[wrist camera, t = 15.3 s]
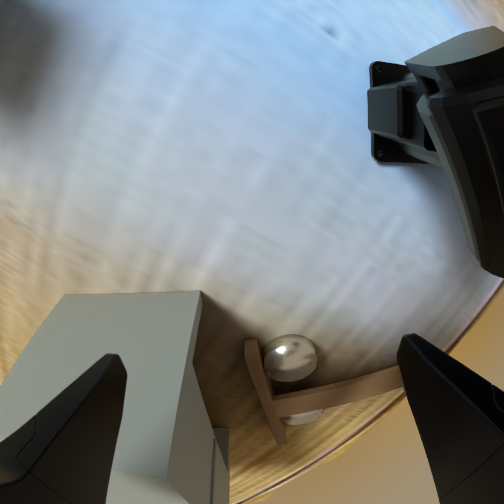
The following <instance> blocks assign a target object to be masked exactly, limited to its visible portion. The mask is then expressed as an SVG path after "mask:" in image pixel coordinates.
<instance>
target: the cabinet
mask: <svg viewBox="0 0 504 504" xmlns="http://www.w3.org/2000/svg"><path fill="white" fill-rule="evenodd" d="M202 306H203V303H202V297H201V291H180V292H155V293H123V294H64V296H63V297H62V298H61V299H60V301H59V302H58V303H57V305H56V306H55V307H54V308H53V310H52V311H51V312H50V314H49V315H48V316H47V318H46V319H45V320H44V322H43V323H42V325H41V326H40V327H39V329H38V330H37V331H36V333H35V334H34V336H33V337H32V338H31V340H30V341H29V343H28V344H27V346H26V347H25V349H24V350H23V352H22V353H21V355H20V356H19V358H18V359H17V361H16V362H15V364H14V365H13V367H12V368H11V370H10V371H9V373H8V375H7V376H6V378H5V379H4V381H3V383H2V384H1V386H0V442H1V441H2V440H4V439H5V438H7V437H8V436H9V435H11V434H12V433H13V432H15V431H16V430H17V429H19V428H20V427H21V426H22V425H23V424H25V423H26V422H27V421H28V420H29V419H30V418H32V417H33V416H34V415H36V413H37V412H39V411H40V410H41V409H42V408H43V407H44V406H45V405H47V404H48V403H49V402H50V401H51V400H52V399H54V398H55V397H56V396H57V395H58V394H59V393H60V392H62V391H63V390H64V389H65V388H66V387H67V386H69V385H70V384H71V383H72V382H73V381H74V380H76V379H77V378H78V377H79V376H80V375H81V374H83V373H84V372H85V371H86V370H87V369H88V368H90V367H91V366H92V365H93V364H94V363H95V362H97V361H98V360H99V359H100V358H101V357H103V356H104V355H105V354H107V353H115V354H118V355H119V356H120V357H121V360H122V362H123V364H124V366H125V368H126V371H127V384H126V392H125V400H124V408H123V416H122V421H121V425H120V430H119V434H118V439H117V444H116V449H115V454H114V459H113V464H112V469H111V474H110V480H109V486H108V492H107V498H106V504H229V480H230V429H229V428H212V426H211V423H210V420H209V417H208V414H207V411H206V407H205V404H204V401H203V398H202V395H201V391H200V388H199V385H198V381H197V378H196V374H195V371H194V367H193V364H192V361H193V356H194V350H195V344H196V338H197V333H198V327H199V322H200V316H201V311H202Z"/></svg>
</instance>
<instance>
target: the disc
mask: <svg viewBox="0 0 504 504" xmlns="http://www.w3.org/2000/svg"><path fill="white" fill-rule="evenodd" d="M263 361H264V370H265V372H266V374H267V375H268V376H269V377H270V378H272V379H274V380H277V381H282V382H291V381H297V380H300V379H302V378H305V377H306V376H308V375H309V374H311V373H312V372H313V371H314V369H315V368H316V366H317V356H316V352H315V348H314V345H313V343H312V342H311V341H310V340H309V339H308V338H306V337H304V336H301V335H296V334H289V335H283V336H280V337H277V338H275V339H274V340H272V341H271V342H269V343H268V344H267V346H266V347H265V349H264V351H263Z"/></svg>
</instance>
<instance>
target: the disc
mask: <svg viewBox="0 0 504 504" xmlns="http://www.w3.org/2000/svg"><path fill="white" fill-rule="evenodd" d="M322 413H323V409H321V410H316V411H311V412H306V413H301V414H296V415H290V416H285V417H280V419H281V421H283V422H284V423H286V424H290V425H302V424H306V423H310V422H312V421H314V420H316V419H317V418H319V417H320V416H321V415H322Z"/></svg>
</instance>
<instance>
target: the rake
mask: <svg viewBox="0 0 504 504" xmlns="http://www.w3.org/2000/svg"><path fill="white" fill-rule="evenodd" d="M245 361H246V364H247V367H248V369H249V372H250V375H251V378H252V380H253V383H254V386H255V388H256V391H257V393H258V396H259V399H260V401H261V404H262V406H263V409H264V412H265V414H266V417H267V419H268V422H269V424H270V427H271V429H272V432H273V434H274V437H275V439H276V442H277V444H278V445H279V444H285V443H287V442H286V433H285V426H284V423H283V421H281V419H280V417H285V416H290V415H296V414H301V413H306V412H311V411H316V410H321V409H325V408H329V407H334V406H338V405H342V404H346V403H350V402H354V401H357V400H361V399H365V398H368V397H372V396H375V395H378V394H382V393H385V392H388V391H391V390H394V389H397V388H400V387H403V389H404V391H405V388H404V384H403V380H402V376H401V372H400V369H399V365H398V361H397V365H396V366H394V367H391V368H388V369H385V370H381V371H378V372H375V373H371V374H368V375H364V376H361V377H357V378H353V379H349V380H345V381H341V382H337V383H333V384H329V385H325V386H320V387H316V388H311V389H306V390H301V391H296V392H291V393H286V394H280V395H274V392H273V389H272V386H271V382H270V379H269V376H268V375H267V374H266V372H265V370H264V361H263V357H262V353H261V350H260V347H259V344H258V340H257V338H255V339H249V340H245ZM405 393H406V392H405Z"/></svg>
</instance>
